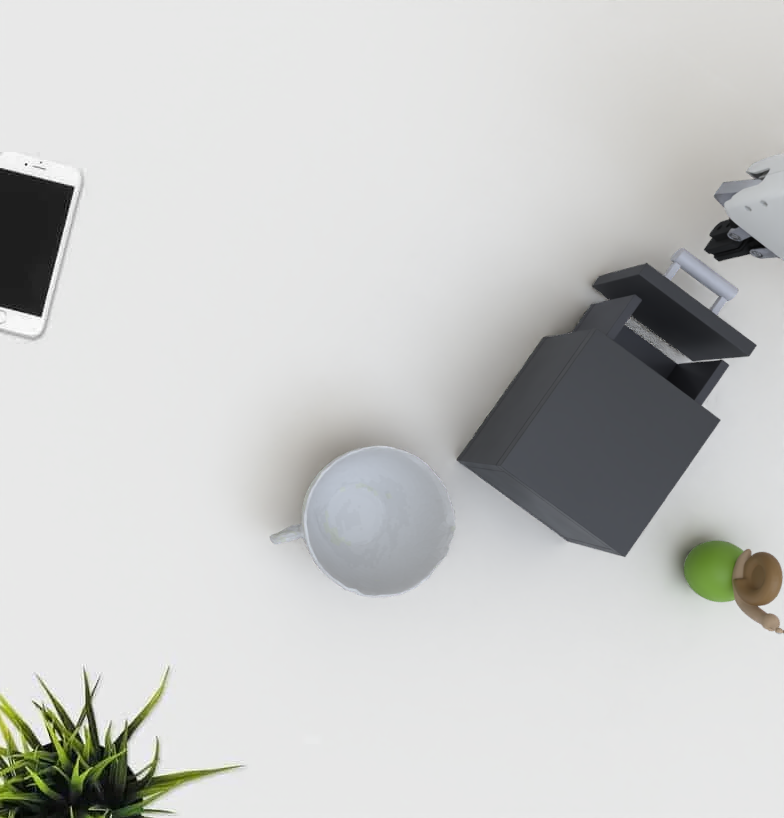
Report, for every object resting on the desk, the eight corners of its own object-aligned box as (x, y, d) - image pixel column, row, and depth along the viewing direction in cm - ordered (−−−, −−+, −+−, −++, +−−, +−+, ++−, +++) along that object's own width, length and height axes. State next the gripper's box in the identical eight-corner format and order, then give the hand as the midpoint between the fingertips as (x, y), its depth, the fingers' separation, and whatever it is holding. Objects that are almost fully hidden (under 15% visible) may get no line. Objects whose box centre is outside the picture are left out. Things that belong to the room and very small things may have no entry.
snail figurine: (665, 602, 91) (752, 631, 79) (675, 533, 91) (763, 551, 80) (722, 610, 92) (817, 640, 80) (732, 541, 92) (828, 560, 80)
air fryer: (543, 337, 91) (597, 327, 81) (654, 419, 91) (721, 419, 82) (456, 460, 91) (500, 465, 81) (568, 542, 91) (625, 557, 81)
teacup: (410, 431, 90) (441, 433, 82) (435, 567, 90) (468, 582, 82) (248, 462, 90) (262, 466, 82) (273, 598, 90) (290, 617, 82)
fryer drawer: (625, 238, 90) (675, 221, 82) (726, 313, 91) (786, 304, 83) (518, 388, 90) (559, 386, 82) (621, 463, 90) (671, 468, 82)
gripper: (1003, 218, 69) (811, 258, 87) (835, 87, 68) (677, 155, 87) (941, 305, 69) (762, 327, 87) (772, 174, 68) (627, 224, 86)
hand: (720, 241), depth 87 cm, fingers closed
